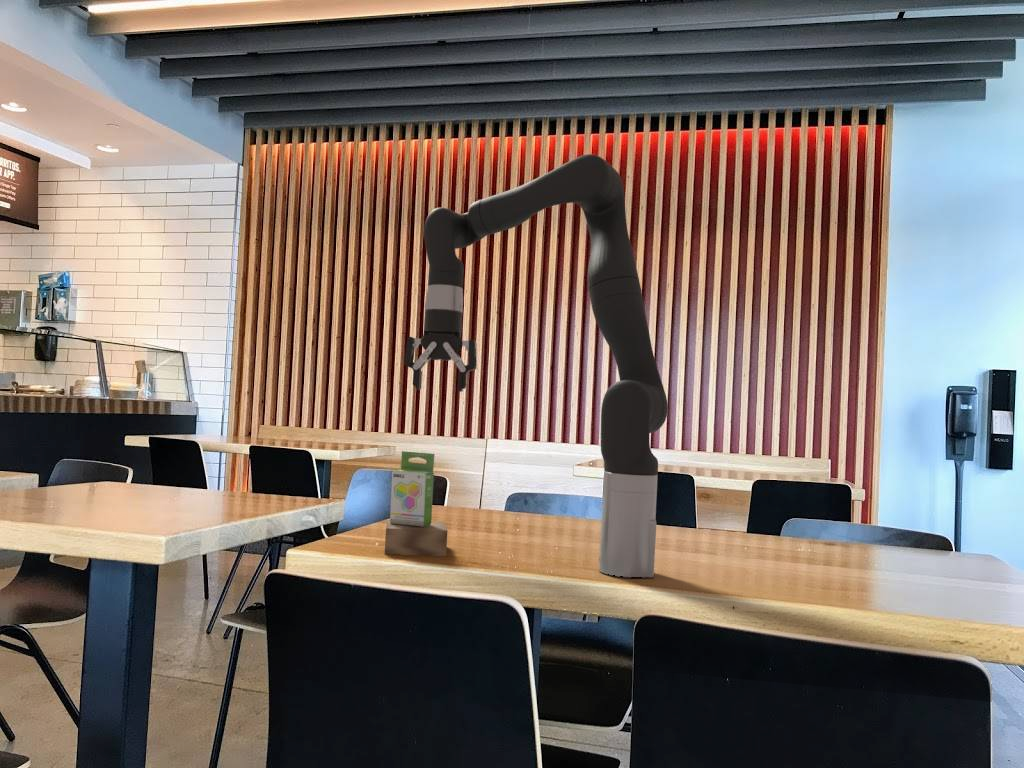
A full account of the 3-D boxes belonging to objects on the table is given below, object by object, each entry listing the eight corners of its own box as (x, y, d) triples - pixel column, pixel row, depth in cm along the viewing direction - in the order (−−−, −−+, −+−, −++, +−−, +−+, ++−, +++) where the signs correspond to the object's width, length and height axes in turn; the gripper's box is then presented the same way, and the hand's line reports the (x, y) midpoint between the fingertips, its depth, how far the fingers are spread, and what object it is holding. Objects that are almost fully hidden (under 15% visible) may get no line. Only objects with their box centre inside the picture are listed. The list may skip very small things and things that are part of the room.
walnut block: (442, 547, 156) (444, 521, 156) (445, 558, 145) (447, 530, 146) (385, 545, 155) (387, 519, 155) (384, 556, 144) (386, 528, 144)
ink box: (388, 524, 150) (392, 451, 150) (398, 521, 153) (402, 451, 154) (422, 527, 147) (427, 454, 148) (431, 525, 151) (435, 453, 152)
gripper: (481, 313, 165) (477, 392, 164) (413, 310, 166) (408, 389, 166) (476, 308, 157) (471, 391, 157) (404, 305, 159) (399, 387, 158)
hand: (439, 390), depth 161 cm, fingers open, 8 cm apart
